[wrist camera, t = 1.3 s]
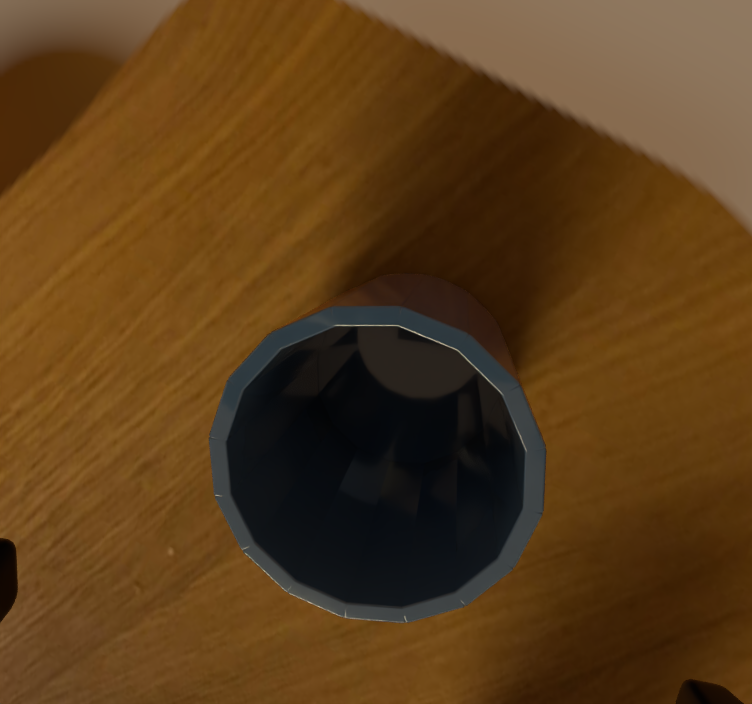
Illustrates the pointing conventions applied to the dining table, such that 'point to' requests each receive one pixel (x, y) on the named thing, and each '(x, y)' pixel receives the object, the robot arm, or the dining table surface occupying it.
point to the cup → (381, 452)
